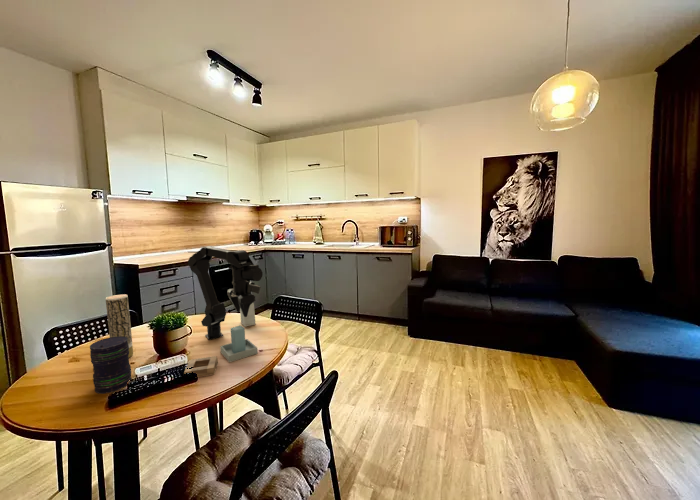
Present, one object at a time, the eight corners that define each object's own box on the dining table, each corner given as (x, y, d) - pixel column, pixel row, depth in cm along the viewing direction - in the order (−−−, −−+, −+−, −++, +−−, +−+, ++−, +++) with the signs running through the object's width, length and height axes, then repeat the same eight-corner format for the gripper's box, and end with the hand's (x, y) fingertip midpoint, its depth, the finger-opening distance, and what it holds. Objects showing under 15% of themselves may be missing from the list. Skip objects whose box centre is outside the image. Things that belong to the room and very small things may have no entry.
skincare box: (255, 324, 151) (254, 296, 149) (243, 327, 147) (242, 298, 146) (251, 320, 158) (250, 293, 156) (239, 322, 154) (238, 295, 153)
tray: (220, 352, 120) (220, 346, 120) (247, 344, 127) (247, 338, 127) (229, 362, 111) (228, 355, 111) (257, 353, 118) (257, 347, 118)
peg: (231, 351, 119) (230, 328, 118) (241, 348, 122) (240, 325, 121) (236, 354, 116) (234, 330, 115) (245, 351, 119) (244, 327, 118)
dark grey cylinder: (112, 376, 102) (107, 336, 100) (139, 376, 102) (135, 336, 100) (85, 393, 92) (80, 348, 91) (115, 394, 92) (110, 349, 90)
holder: (190, 365, 109) (190, 359, 109) (217, 361, 112) (217, 355, 111) (184, 379, 100) (183, 372, 100) (214, 374, 103) (213, 367, 102)
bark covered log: (135, 356, 117) (129, 296, 114) (113, 363, 112) (106, 300, 109) (131, 351, 121) (125, 293, 119) (110, 357, 116) (104, 296, 114)
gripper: (266, 280, 124) (268, 315, 126) (250, 273, 138) (252, 305, 140) (240, 284, 117) (242, 321, 119) (226, 277, 131) (228, 310, 133)
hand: (241, 314), depth 128 cm, fingers open, 9 cm apart
